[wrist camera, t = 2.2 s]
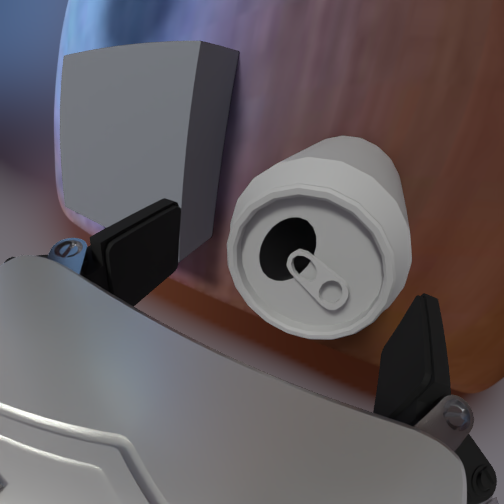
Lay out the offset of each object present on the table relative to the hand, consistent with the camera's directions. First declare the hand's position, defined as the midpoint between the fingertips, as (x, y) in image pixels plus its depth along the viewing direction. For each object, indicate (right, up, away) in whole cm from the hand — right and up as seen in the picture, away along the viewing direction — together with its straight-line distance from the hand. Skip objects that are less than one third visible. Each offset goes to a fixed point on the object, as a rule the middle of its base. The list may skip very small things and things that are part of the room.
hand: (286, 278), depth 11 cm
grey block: (-11, +12, +14) cm, 21 cm away
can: (+6, +5, +9) cm, 12 cm away
